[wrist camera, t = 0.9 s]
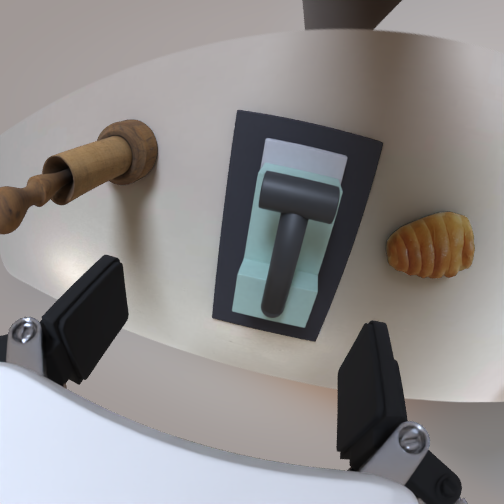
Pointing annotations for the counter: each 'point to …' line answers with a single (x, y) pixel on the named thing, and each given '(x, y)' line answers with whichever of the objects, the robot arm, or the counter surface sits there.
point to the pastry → (432, 246)
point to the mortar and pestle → (83, 171)
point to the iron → (288, 231)
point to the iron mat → (241, 201)
